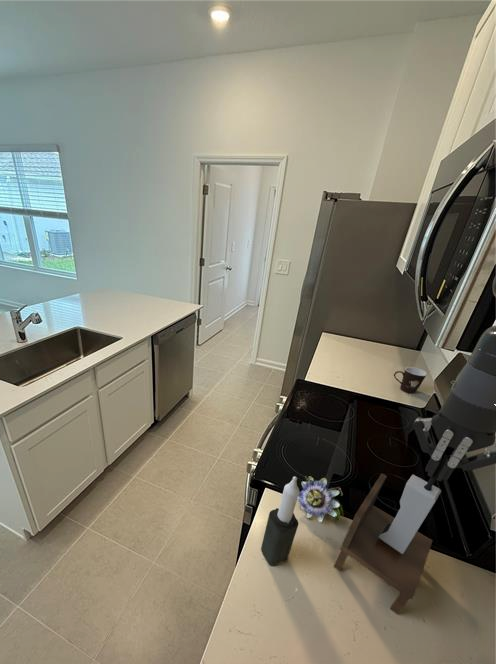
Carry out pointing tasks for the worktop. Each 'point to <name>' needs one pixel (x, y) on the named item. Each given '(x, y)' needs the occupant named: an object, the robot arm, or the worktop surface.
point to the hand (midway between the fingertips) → (434, 475)
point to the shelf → (384, 550)
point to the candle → (281, 527)
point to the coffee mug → (411, 379)
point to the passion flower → (319, 499)
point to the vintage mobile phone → (412, 510)
